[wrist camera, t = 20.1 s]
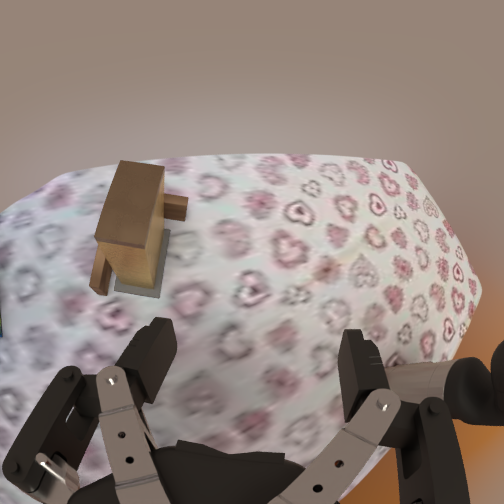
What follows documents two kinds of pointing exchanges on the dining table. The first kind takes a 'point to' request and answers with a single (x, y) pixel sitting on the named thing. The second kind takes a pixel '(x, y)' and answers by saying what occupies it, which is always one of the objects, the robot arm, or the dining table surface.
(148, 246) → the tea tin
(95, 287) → the corner arena
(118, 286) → the mat
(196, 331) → the dining table surface
